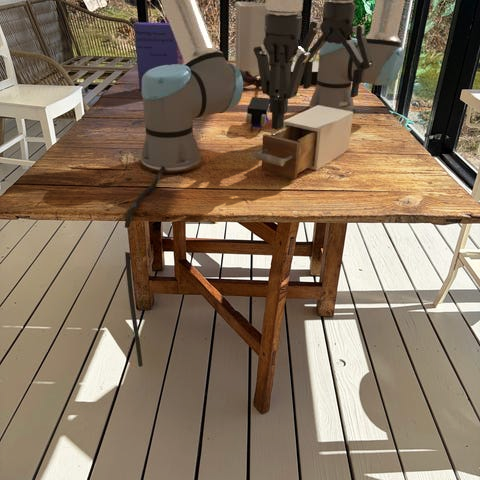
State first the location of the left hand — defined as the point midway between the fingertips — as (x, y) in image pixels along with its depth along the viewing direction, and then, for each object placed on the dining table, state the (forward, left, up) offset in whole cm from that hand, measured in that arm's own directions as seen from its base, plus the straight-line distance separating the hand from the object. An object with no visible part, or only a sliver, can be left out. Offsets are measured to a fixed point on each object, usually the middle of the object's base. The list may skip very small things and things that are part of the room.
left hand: (277, 127), depth 108 cm
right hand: (+23, -11, +3) cm, 26 cm away
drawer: (+7, -3, -12) cm, 14 cm away
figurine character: (+40, +11, -13) cm, 43 cm away
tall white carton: (+117, +25, -13) cm, 121 cm away
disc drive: (+111, +2, -13) cm, 112 cm away
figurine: (+88, +23, -13) cm, 91 cm away
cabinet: (+19, -9, -13) cm, 25 cm away
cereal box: (+77, +55, -13) cm, 95 cm away
